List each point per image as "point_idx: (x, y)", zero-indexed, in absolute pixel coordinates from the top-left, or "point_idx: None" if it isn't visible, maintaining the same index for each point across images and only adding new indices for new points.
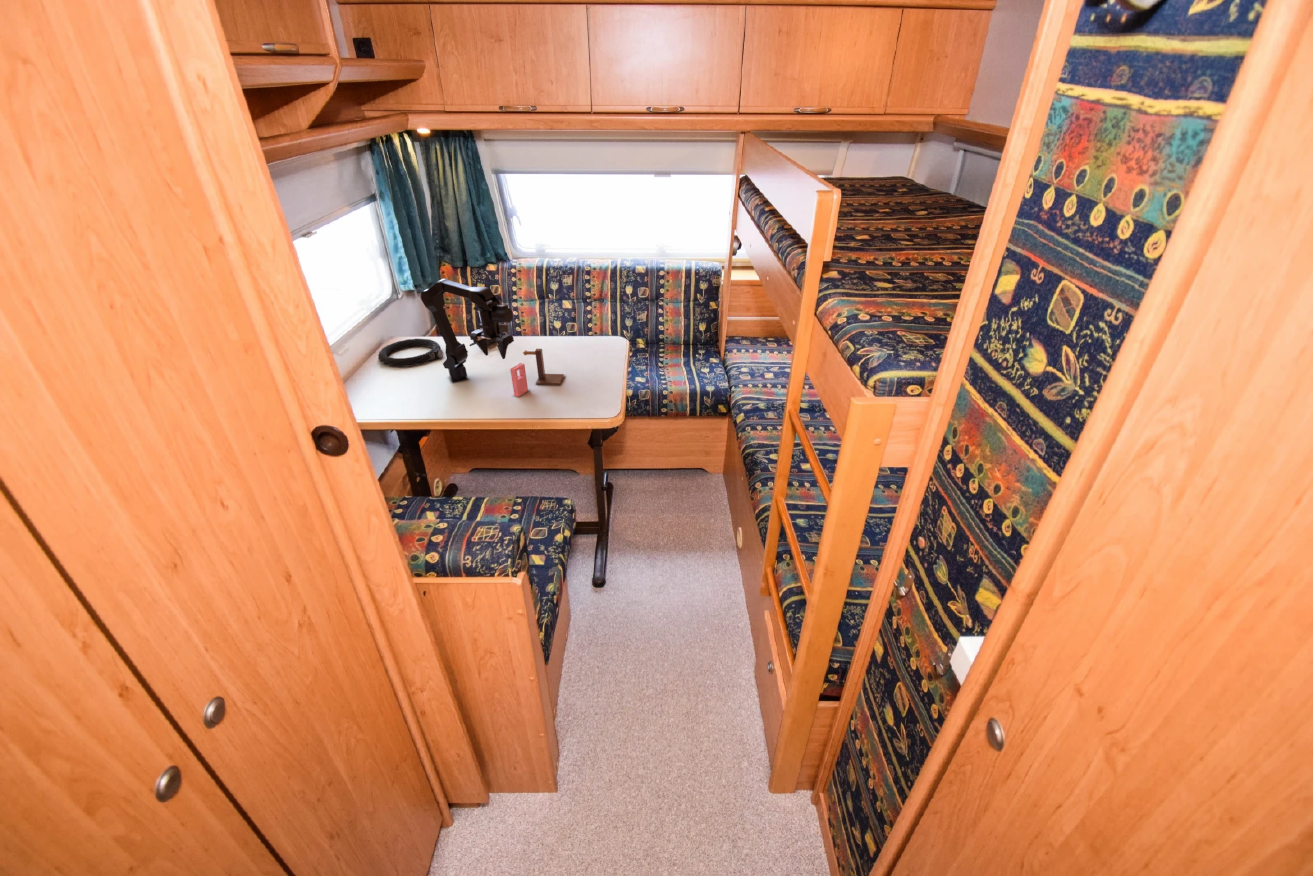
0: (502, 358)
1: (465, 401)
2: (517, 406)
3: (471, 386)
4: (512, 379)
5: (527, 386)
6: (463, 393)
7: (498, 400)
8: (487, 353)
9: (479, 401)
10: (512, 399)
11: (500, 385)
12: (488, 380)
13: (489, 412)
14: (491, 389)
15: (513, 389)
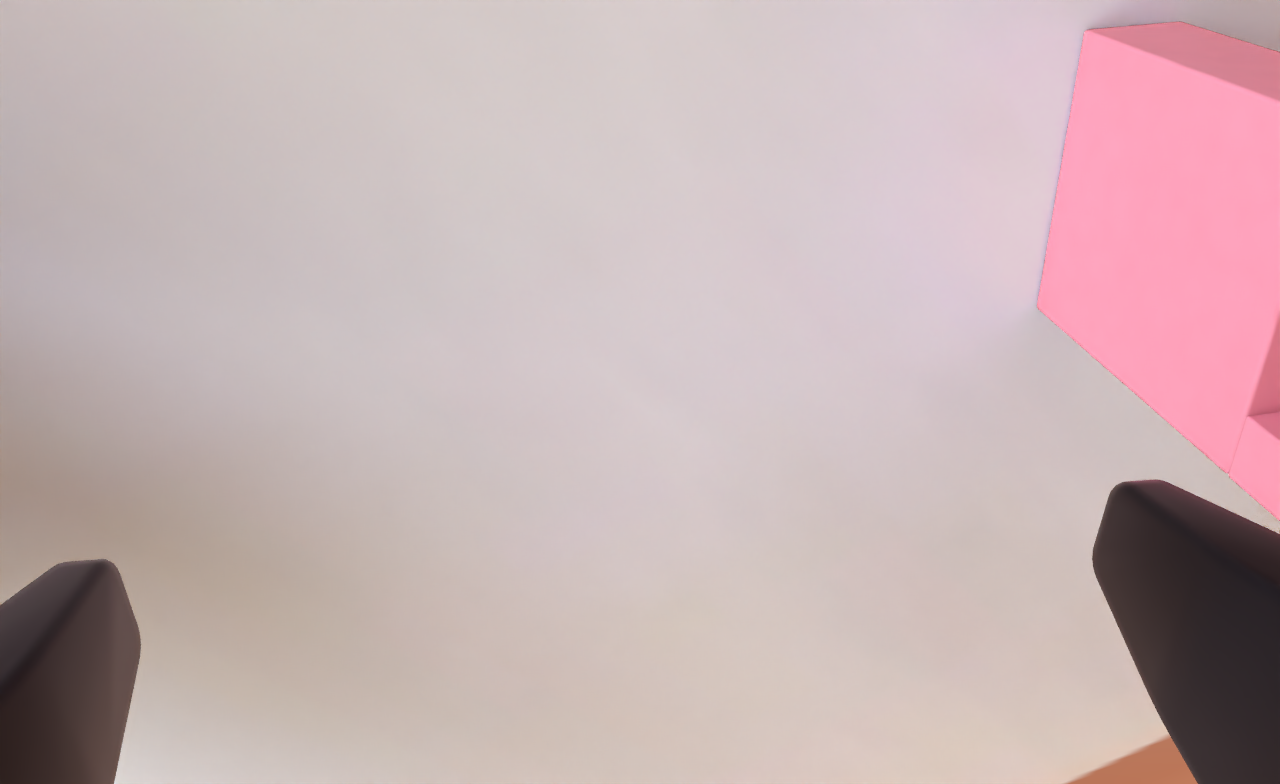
0: (1106, 593)
1: (478, 753)
2: (1228, 498)
3: (78, 448)
4: (1262, 487)
5: (1238, 45)
6: (225, 653)
7: (883, 523)
8: (92, 643)
9: (652, 666)
10: (1065, 402)
11: (535, 134)
12: (94, 82)
13: (962, 743)
14: (512, 343)
15: (1104, 365)
